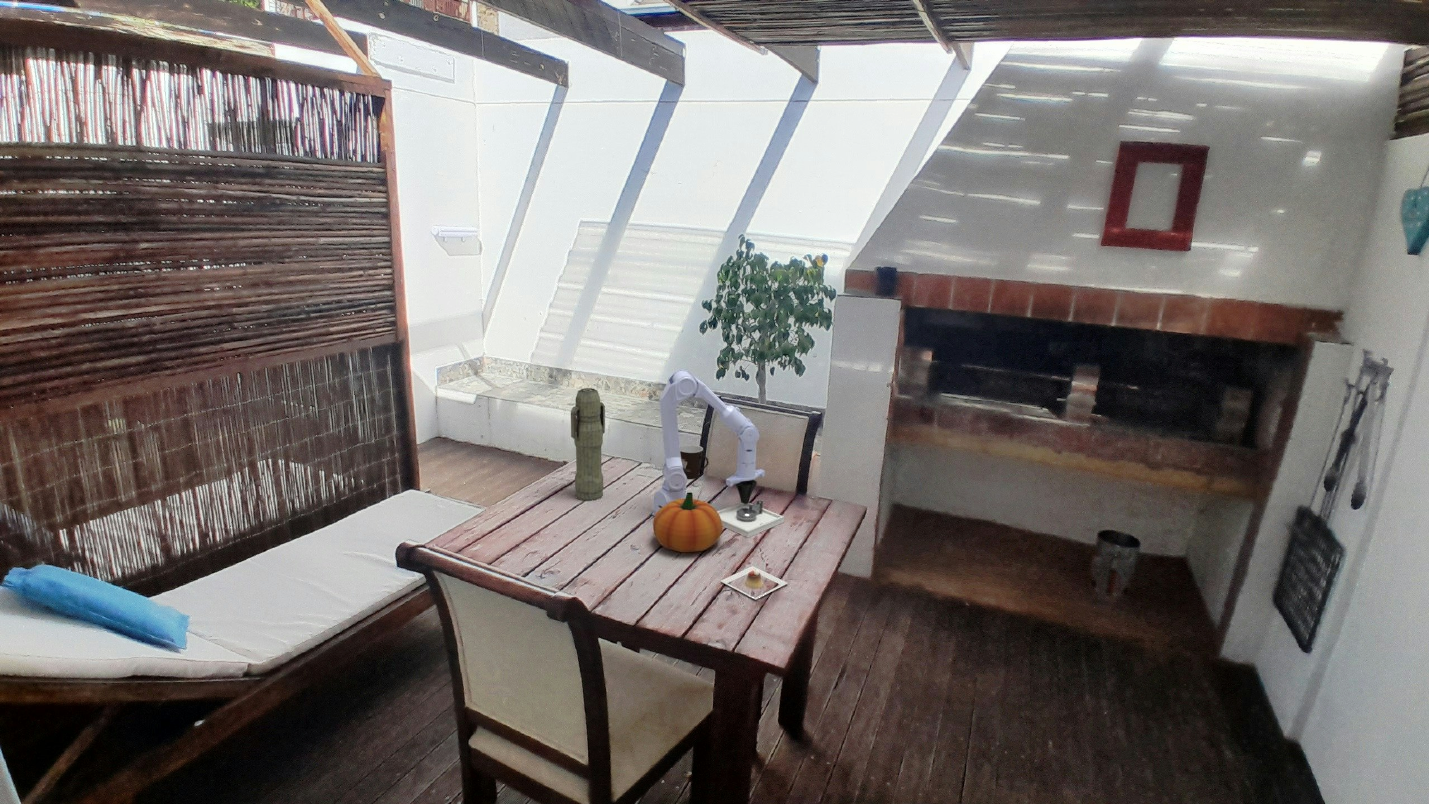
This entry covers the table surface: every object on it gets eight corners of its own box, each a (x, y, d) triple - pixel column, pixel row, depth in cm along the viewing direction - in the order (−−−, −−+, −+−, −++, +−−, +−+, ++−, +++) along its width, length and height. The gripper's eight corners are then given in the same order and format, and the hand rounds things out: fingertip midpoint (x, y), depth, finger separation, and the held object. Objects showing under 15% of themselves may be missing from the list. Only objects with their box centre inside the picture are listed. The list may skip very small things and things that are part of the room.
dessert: (719, 584, 178) (720, 567, 177) (752, 569, 186) (753, 552, 185) (755, 603, 170) (756, 585, 169) (787, 587, 178) (789, 569, 177)
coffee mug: (674, 473, 253) (674, 446, 250) (696, 470, 257) (697, 443, 254) (686, 484, 243) (687, 456, 240) (709, 481, 246) (710, 453, 244)
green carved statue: (565, 497, 229) (563, 390, 220) (593, 487, 238) (592, 384, 229) (584, 504, 223) (582, 395, 215) (612, 494, 232) (611, 389, 224)
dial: (746, 522, 210) (747, 512, 209) (732, 516, 214) (732, 506, 214) (768, 513, 217) (769, 503, 216) (754, 507, 221) (754, 498, 220)
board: (747, 537, 204) (747, 531, 203) (708, 520, 215) (708, 514, 214) (783, 522, 215) (784, 516, 214) (744, 506, 226) (745, 501, 225)
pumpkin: (677, 522, 212) (678, 475, 209) (734, 538, 203) (736, 489, 199) (638, 546, 196) (638, 495, 193) (697, 565, 187) (699, 511, 183)
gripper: (754, 453, 226) (752, 493, 229) (719, 462, 217) (718, 504, 220) (770, 459, 221) (768, 500, 224) (735, 468, 212) (734, 511, 215)
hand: (744, 502), depth 222 cm, fingers closed
